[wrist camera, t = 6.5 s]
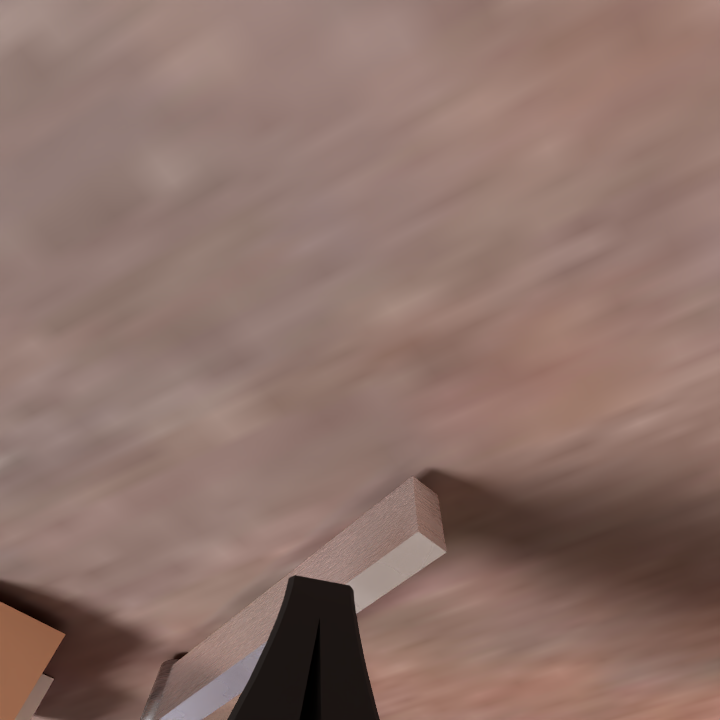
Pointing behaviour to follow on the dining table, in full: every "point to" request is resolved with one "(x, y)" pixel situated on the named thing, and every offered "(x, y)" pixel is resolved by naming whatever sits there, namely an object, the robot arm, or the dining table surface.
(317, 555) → the bar
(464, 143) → the dining table surface
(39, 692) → the socket block
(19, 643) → the light orange square block
